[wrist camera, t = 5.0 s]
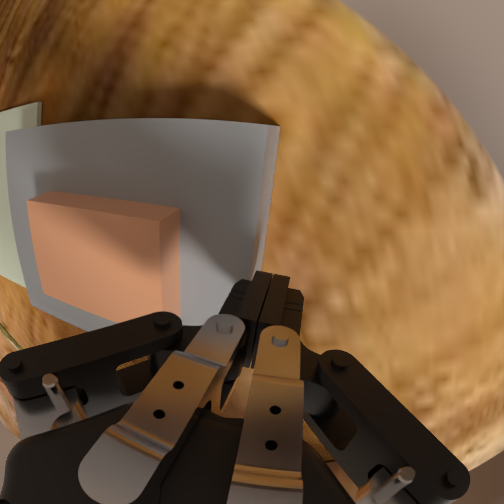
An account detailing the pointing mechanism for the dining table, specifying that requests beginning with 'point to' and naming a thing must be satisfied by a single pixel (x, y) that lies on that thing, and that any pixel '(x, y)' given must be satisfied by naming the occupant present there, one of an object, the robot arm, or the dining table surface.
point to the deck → (155, 195)
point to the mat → (3, 240)
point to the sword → (10, 338)
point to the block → (107, 254)
